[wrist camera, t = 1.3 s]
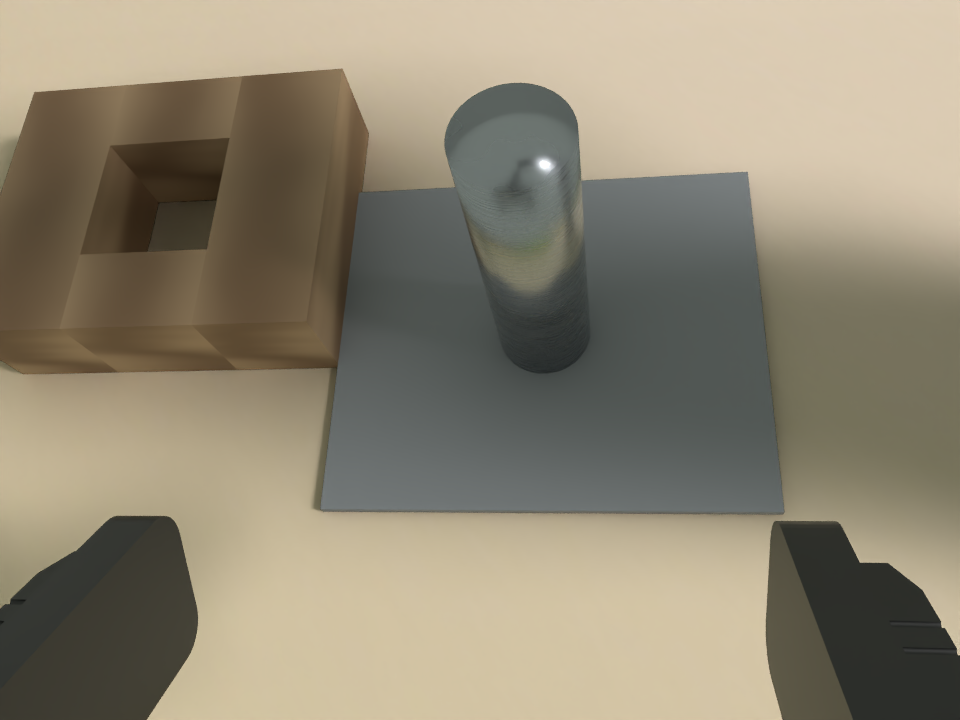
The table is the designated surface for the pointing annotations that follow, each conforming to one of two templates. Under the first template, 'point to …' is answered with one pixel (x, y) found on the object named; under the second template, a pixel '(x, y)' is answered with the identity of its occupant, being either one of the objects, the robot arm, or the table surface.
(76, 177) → the hole block
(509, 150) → the peg
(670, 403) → the mat
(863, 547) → the table surface
